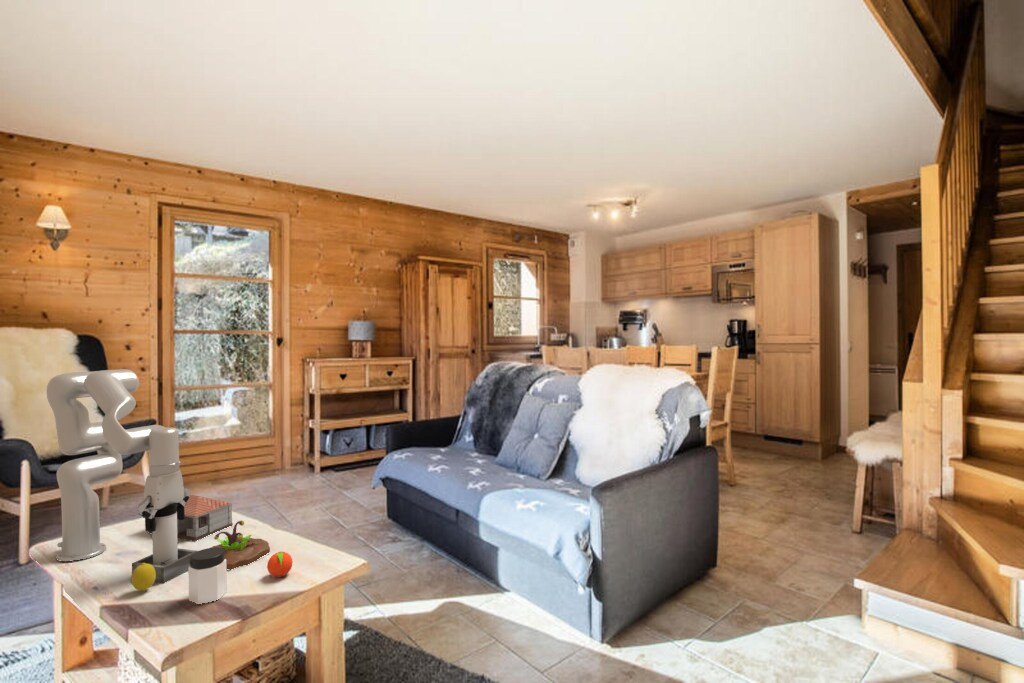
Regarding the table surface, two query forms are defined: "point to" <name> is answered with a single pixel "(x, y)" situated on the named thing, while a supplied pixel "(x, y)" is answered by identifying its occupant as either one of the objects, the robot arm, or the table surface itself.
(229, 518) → the model house
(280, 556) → the clementine
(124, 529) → the table surface
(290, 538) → the table surface
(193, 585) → the jar
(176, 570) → the grey tray
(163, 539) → the travel mug
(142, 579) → the lemon
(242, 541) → the plant
